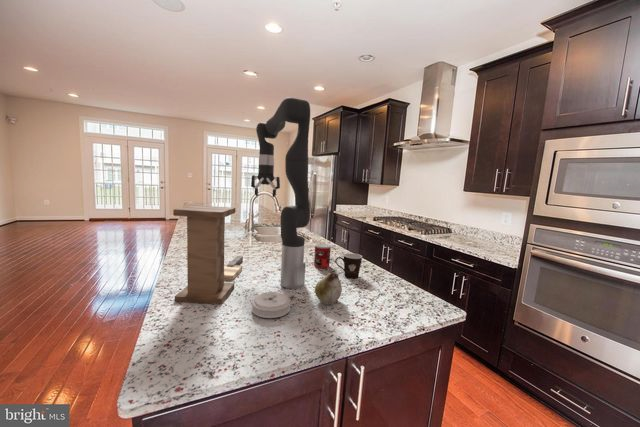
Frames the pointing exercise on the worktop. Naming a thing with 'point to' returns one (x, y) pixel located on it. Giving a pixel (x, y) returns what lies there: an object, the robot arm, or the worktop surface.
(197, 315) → the worktop surface
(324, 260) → the canned food
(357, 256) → the coffee mug
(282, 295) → the lid
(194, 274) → the tall stand
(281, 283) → the robot arm
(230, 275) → the wooden board
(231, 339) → the worktop surface
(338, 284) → the fruit
